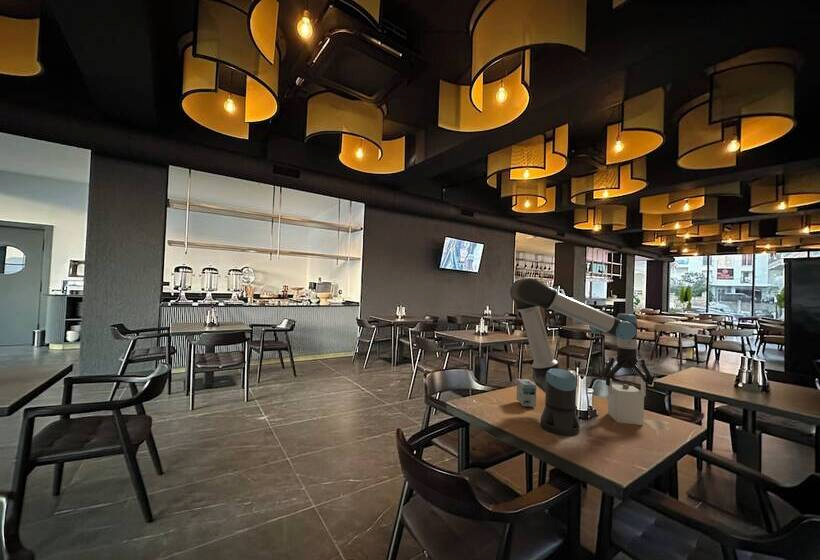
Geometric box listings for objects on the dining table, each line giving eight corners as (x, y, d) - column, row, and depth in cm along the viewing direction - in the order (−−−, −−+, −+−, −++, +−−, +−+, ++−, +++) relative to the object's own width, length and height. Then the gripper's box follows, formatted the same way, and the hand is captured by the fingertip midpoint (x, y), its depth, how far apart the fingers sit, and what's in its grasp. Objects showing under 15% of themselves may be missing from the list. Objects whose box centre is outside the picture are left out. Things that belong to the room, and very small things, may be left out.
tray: (652, 429, 137) (652, 428, 137) (639, 419, 148) (639, 418, 148) (682, 432, 135) (682, 432, 135) (667, 422, 146) (667, 421, 146)
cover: (617, 422, 144) (617, 387, 144) (607, 413, 154) (608, 380, 154) (643, 425, 142) (644, 389, 142) (632, 416, 152) (633, 382, 152)
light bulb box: (536, 407, 159) (537, 385, 159) (522, 406, 159) (523, 384, 159) (528, 399, 170) (529, 378, 170) (515, 398, 170) (516, 378, 170)
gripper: (599, 347, 147) (599, 394, 147) (662, 350, 142) (661, 399, 142) (594, 344, 155) (593, 389, 154) (653, 347, 149) (652, 393, 149)
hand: (626, 394), depth 148 cm, fingers open, 13 cm apart
